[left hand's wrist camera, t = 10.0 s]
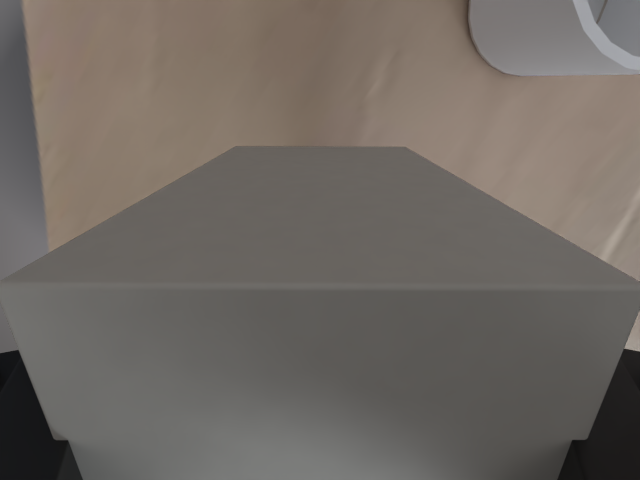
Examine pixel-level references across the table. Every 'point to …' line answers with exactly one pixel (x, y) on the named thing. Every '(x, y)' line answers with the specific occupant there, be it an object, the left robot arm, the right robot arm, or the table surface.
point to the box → (320, 327)
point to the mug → (557, 36)
